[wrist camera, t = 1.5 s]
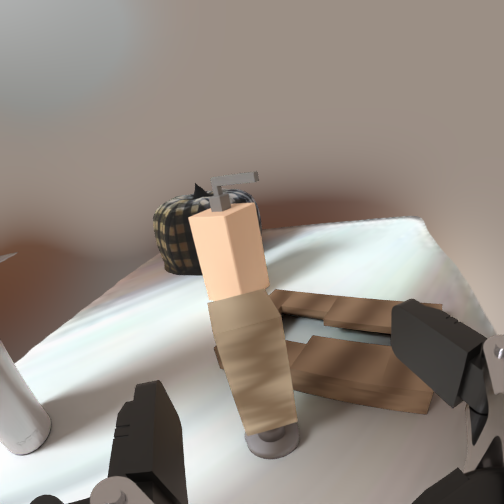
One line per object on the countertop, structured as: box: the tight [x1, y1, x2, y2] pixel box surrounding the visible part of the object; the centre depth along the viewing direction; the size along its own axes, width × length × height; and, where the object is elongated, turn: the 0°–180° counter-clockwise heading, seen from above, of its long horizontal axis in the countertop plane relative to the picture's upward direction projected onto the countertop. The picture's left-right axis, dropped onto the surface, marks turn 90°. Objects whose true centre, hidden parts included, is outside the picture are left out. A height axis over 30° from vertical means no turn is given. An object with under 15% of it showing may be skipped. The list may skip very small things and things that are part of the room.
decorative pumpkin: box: [153, 183, 262, 275], centre depth 79 cm, size 30×29×20 cm
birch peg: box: [208, 289, 300, 459], centre depth 23 cm, size 5×5×16 cm
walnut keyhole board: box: [214, 289, 442, 414], centre depth 36 cm, size 26×16×4 cm, turn 57°
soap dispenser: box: [188, 171, 270, 301], centre depth 53 cm, size 13×9×22 cm
